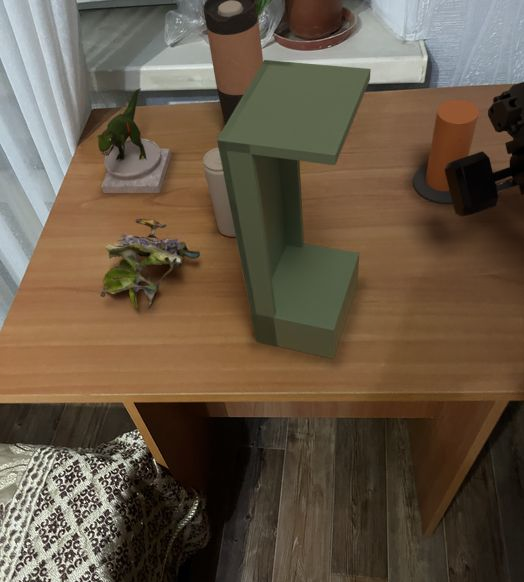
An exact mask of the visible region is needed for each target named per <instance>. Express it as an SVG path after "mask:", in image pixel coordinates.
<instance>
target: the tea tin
mask: <svg viewBox="0 0 524 582" xmlns="http://www.w3.org/2000/svg"><path fill="white" fill-rule="evenodd" d="M479 114H480V111H479V108H478V107H477V105H476V104H474V103H472V102H470V101H468V100H463V99H452V100H451V99H450V100H447V101H444V102H443V103H441V104H440V105H439V106H438V107H437V109H436V115H435V120H434V121H435V122H434V127H433V133H432V139H431V144H430V150H429V156H428V161H427V164H428V167H427V172H426V183H427V185H428V186H429V187H431V188H432V189H434V190H437V191H443V192H447V191H450V190H449V186H448V182H447V178H446V174H445V170H444V169H445V167H446V165H447V163H450V162H452V161H455V160H458V159H461V158H464V157H467V156H470V151H471V147H472V143H473V139H474V134H475V130H476V127H477V123H478V118H479Z"/></svg>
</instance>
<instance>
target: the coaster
mask: <svg viewBox="0 0 524 582" xmlns="http://www.w3.org/2000/svg"><path fill="white" fill-rule="evenodd" d="M427 167H428V163H426V164H424V165H422V166H421V167H420V168H418V170H416V172H415V173H414V175H413V178H412V184H413V188H414V190H415V192H416V193H417V194H418V195H419V196H420V197H421V198H423V199H424V200H426V201H428V202H431V203H436V204H441V205H453V202H452V198H451V194H450V191H447V192H443V191H437V190H434V189H432V188H431V187H429V186H428V185H427V183H426V172H427Z"/></svg>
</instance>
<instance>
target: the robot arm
mask: <svg viewBox="0 0 524 582" xmlns="http://www.w3.org/2000/svg"><path fill="white" fill-rule="evenodd" d="M487 117H488V118H489V122H490V123H491V125H492V127H493V129H494V131H495V132H496V133H501V132H502V133H503V132H506V133H507V134H508V136H510V137H511V138H512V140H509V141H507V142H505V143H504V144H505V145H504V146H505V149H506V154H507V155H511V156H510V157H509V163H508V165H509V167H505V168H503V169H499V170H496V171H493V167H492V163H491V158H490V157H489V155H487V154H486V153H485V152H484V151H483V150H482V151H479V152H477V153H473V154H469V156H467V157H464V158H461V159H458V160H455V161H452V162H450V163H447V165H446V167H445V169H444V170H445V174H446V178H447V182H448V186H449V190H450V194H451V198H452V202H453V204H452V206H453V209H454V210H453V211H454V213H455V215H457V216H459V217H467V216H471V215H474V214H476V213H477V214H478V213H479V212H483V211H485V210H489V209H491V208H494V207H496V206H497V203H498V200H499V193H500V192H503V191H506V190H509V189H513V188H515V187H518V188H519V192H520V196H524V81H522V82H518V83H515V84H513V85H511V86H510V88H509V89H508V90H504V91H503V92H501V93H500V94H499V95H496V96H494V97H493V99H492V104H491V106H489V108H488V109H487ZM507 178H508V179H507ZM505 179H506V180H505ZM502 180H503V181H502ZM498 181H499V182H498ZM496 182H497V183H496Z"/></svg>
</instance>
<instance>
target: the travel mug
mask: <svg viewBox="0 0 524 582" xmlns="http://www.w3.org/2000/svg"><path fill="white" fill-rule="evenodd" d="M257 3H258V2H257V0H205V2H204V3H203V14H204V15H203V16H204V21H205V26H206V32H207V39H208V43H209V44H208V45H209V50H210V56H211V63H212V69H213V73H214V79H215V86H216V91H217V96H218V99H219V104H220V110H221V114H222V119H223V123H224V126H225V125H226V123H227V122H228V120H229V118H230V117H231V115H232V113H233V112H234V110H235V108H236V107H237V105H238V103H239V102H240V100H241V98H242V97H243V95H244V93H245V91H246V90H247V88H248V86H249V85H250V83H251V81H252V80H253V78H254V76H255V75H256V73H257V71H258V70H259V68H260V66H261V64H262V63H263V61H264V58H263V49H262V48H263V46H262V40H261V31H260V30H261V29H260V21H259V12H258V4H257Z"/></svg>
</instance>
